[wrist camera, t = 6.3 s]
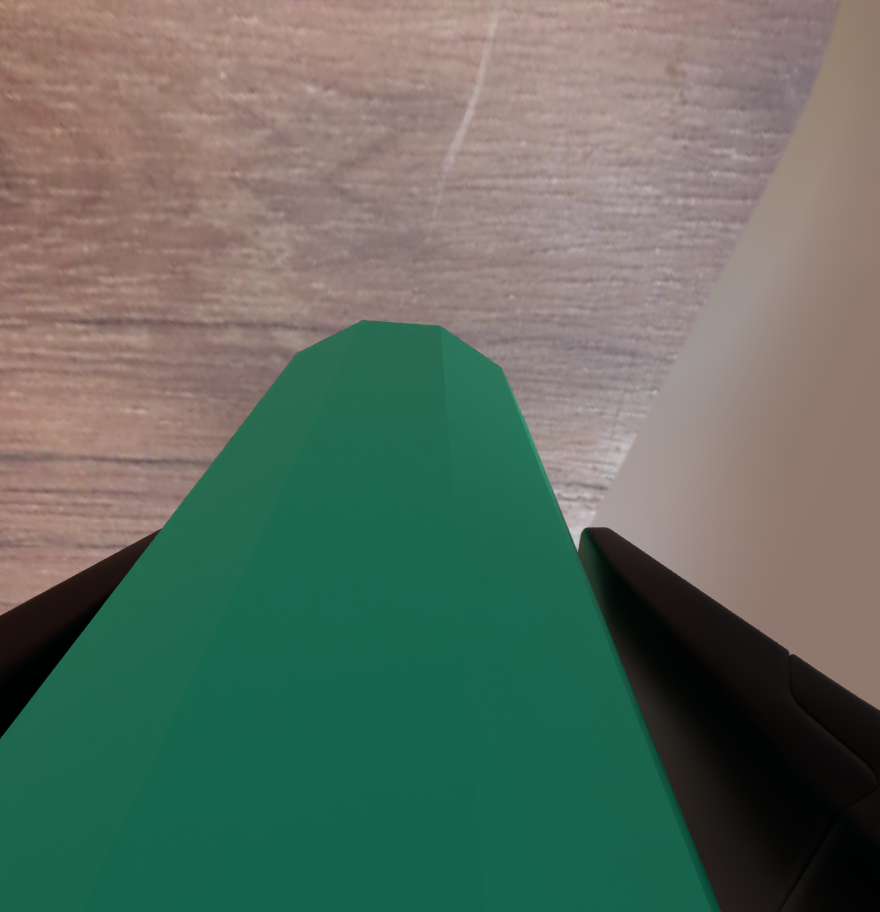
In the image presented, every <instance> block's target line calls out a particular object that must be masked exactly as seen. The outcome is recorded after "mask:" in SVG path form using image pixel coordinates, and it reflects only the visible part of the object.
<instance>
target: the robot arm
mask: <svg viewBox="0 0 880 912" xmlns="http://www.w3.org/2000/svg"><path fill="white" fill-rule="evenodd" d="M160 531H161V529H160V530H158V531H156V532H154V533H152V534H150V535H149V536H147V537H145V538H143V539H141V540H139V541H137V542H136V543H134V544H132V545H130V546H128V547H126V548H124V549H123V550H121V551H119V552H117V553H115V554H113V555H112V556H110V557H108V558H106V559H104V560H102V561H100V562H99V563H97V564H95V565H93V566H91V567H89V568H87V569H86V570H84V571H82V572H80V573H78V574H76V575H75V576H73V577H71V578H69V579H67V580H65V581H63V582H62V583H60V584H58V585H56V586H54V587H52V588H50V589H49V590H47V591H45V592H43V593H41V594H39V595H38V596H36V597H34V598H32V599H30V600H28V601H26V602H25V603H23V604H21V605H19V606H17V607H15V608H13V609H12V610H10V611H8V612H6V613H4V614H2V615H1V616H0V739H1V737H2V736H3V735H4V734H5V732H6V731H7V730H8V728H9V727H10V726H11V724H12V723H13V722H14V721H15V719H16V718H17V717H18V715H19V714H20V713H21V711H22V710H23V709H24V708H25V706H26V705H27V704H28V702H29V701H30V700H31V698H32V697H33V696H34V695H35V693H36V692H37V691H38V689H39V688H40V687H41V685H42V684H43V683H44V681H45V680H46V679H47V678H48V676H49V675H50V674H51V672H52V671H53V670H54V668H55V667H56V666H57V665H58V663H59V662H60V661H61V659H62V658H63V657H64V655H65V654H66V653H67V652H68V650H69V649H70V648H71V646H72V645H73V644H74V642H75V641H76V640H77V639H78V637H79V636H80V635H81V633H82V632H83V631H84V629H85V628H86V627H87V626H88V624H89V623H90V622H91V620H92V619H93V618H94V616H95V615H96V614H97V613H98V611H99V610H100V609H101V607H102V606H103V605H104V603H105V602H106V601H107V600H108V598H109V597H110V596H111V594H112V593H113V592H114V590H115V589H116V588H117V587H118V585H119V584H120V583H121V581H122V580H123V579H124V577H125V576H126V575H127V574H128V572H129V571H130V570H131V568H132V567H133V566H134V564H135V563H136V562H137V560H138V559H139V558H140V557H141V555H142V554H143V553H144V551H145V550H146V549H147V547H148V546H149V545H150V544H151V542H152V541H153V540H154V538H155V537H156V536H157V534H158V533H159V532H160ZM578 554H579V557H580V559H581V562H582V564H583V567H584V569H585V572H586V574H587V577H588V579H589V582H590V584H591V587H592V589H593V592H594V594H595V597H596V599H597V602H598V604H599V607H600V609H601V612H602V614H603V617H604V619H605V622H606V624H607V627H608V629H609V632H610V634H611V637H612V639H613V642H614V644H615V647H616V649H617V652H618V654H619V657H620V659H621V662H622V664H623V667H624V669H625V672H626V674H627V677H628V679H629V682H630V684H631V687H632V689H633V692H634V694H635V697H636V699H637V702H638V704H639V707H640V709H641V712H642V714H643V717H644V719H645V722H646V724H647V727H648V729H649V732H650V734H651V737H652V739H653V742H654V744H655V747H656V749H657V752H658V754H659V757H660V759H661V762H662V764H663V767H664V769H665V772H666V774H667V777H668V779H669V782H670V784H671V787H672V789H673V792H674V794H675V797H676V799H677V802H678V804H679V807H680V809H681V812H682V814H683V817H684V819H685V822H686V824H687V827H688V829H689V832H690V834H691V837H692V839H693V842H694V844H695V847H696V849H697V852H698V854H699V857H700V859H701V862H702V864H703V867H704V869H705V872H706V874H707V877H708V879H709V882H710V884H711V887H712V889H713V892H714V894H715V897H716V899H717V902H718V904H719V907H720V909H721V912H880V710H878V709H877V708H875V707H873V706H872V705H870V704H869V703H867V702H865V701H864V700H862V699H860V698H859V697H857V696H856V695H854V694H853V693H851V692H850V691H848V690H847V689H845V688H844V687H842V686H841V685H839V684H838V683H836V682H835V681H833V680H832V679H830V678H828V677H827V676H825V675H824V674H822V673H821V672H819V671H818V670H817V669H815V668H814V667H812V666H811V665H809V664H808V663H806V662H805V661H803V660H802V659H800V658H799V657H797V656H796V655H794V654H792V655H790V656H789V651H788V650H787V649H785V648H784V647H782V646H781V645H780V644H778V643H777V642H775V641H774V640H772V639H771V638H769V637H768V636H766V635H765V634H764V633H762V632H760V631H759V630H758V629H756V628H755V627H753V626H751V625H750V624H749V623H747V622H746V621H744V620H743V619H742V618H740V617H739V616H737V615H736V614H734V613H732V612H731V611H729V610H728V609H727V608H725V607H724V606H722V605H721V604H720V603H718V602H717V601H715V600H714V599H712V598H711V597H709V596H708V595H706V594H705V593H703V592H702V591H700V590H699V589H698V588H696V587H695V586H693V585H692V584H690V583H689V582H687V581H686V580H684V579H683V578H681V577H680V576H678V575H677V574H676V573H674V572H672V571H671V570H670V569H668V568H667V567H665V566H664V565H662V564H661V563H659V562H658V561H656V560H655V559H654V558H652V557H651V556H649V555H648V554H646V553H645V552H643V551H642V550H640V549H639V548H637V547H636V546H634V545H633V544H631V543H630V542H629V541H627V540H626V539H624V538H623V537H621V536H620V535H618V534H617V533H615V532H614V531H612V530H611V529H609V528H605V527H596V528H594V527H590V528H585V529H584V530H583V531H582V533H581V537H580V543H579V549H578Z"/></svg>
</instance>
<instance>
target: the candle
mask: <svg viewBox="0 0 880 912" xmlns="http://www.w3.org/2000/svg"><path fill="white" fill-rule="evenodd" d="M0 912H721V909H720V907H719V904H718V902H717V899H716V897H715V894H714V892H713V889H712V887H711V884H710V882H709V879H708V877H707V874H706V872H705V869H704V867H703V864H702V862H701V859H700V857H699V854H698V852H697V849H696V847H695V844H694V842H693V839H692V837H691V834H690V832H689V829H688V827H687V824H686V822H685V819H684V817H683V814H682V812H681V809H680V807H679V804H678V802H677V799H676V797H675V794H674V792H673V789H672V787H671V784H670V782H669V779H668V777H667V774H666V772H665V769H664V767H663V764H662V762H661V759H660V757H659V754H658V752H657V749H656V747H655V744H654V742H653V739H652V737H651V734H650V732H649V729H648V727H647V724H646V722H645V719H644V717H643V714H642V712H641V709H640V707H639V704H638V702H637V699H636V697H635V694H634V692H633V689H632V687H631V684H630V682H629V679H628V677H627V674H626V672H625V669H624V667H623V664H622V662H621V659H620V657H619V654H618V652H617V649H616V647H615V644H614V642H613V639H612V637H611V634H610V632H609V629H608V627H607V624H606V622H605V619H604V617H603V614H602V612H601V609H600V607H599V604H598V602H597V599H596V597H595V594H594V592H593V589H592V587H591V584H590V582H589V579H588V577H587V574H586V572H585V569H584V567H583V564H582V562H581V559H580V557H579V554H578V552H577V549H576V547H575V544H574V542H573V539H572V537H571V534H570V532H569V529H568V527H567V524H566V522H565V519H564V517H563V514H562V512H561V509H560V507H559V504H558V502H557V499H556V497H555V494H554V492H553V489H552V487H551V484H550V482H549V479H548V477H547V474H546V472H545V469H544V467H543V464H542V462H541V459H540V457H539V454H538V452H537V449H536V447H535V444H534V442H533V439H532V437H531V434H530V432H529V429H528V427H527V425H526V422H525V420H524V418H523V416H522V413H521V411H520V409H519V406H518V404H517V402H516V400H515V397H514V395H513V393H512V391H511V388H510V386H509V384H508V382H507V379H506V377H505V375H504V372H503V370H502V368H501V367H500V366H498V365H497V364H495V363H494V362H492V361H491V360H490V359H488V358H487V357H485V356H484V355H482V354H481V353H479V352H478V351H476V350H475V349H473V348H472V347H470V346H469V345H468V344H466V343H465V342H463V341H462V340H460V339H459V338H457V337H456V336H454V335H453V334H451V333H450V332H448V331H447V330H446V329H444V328H443V327H441V326H435V325H421V324H408V323H394V322H381V321H367V320H362V321H360V322H358V323H356V324H354V325H352V326H350V327H348V328H346V329H344V330H342V331H340V332H338V333H336V334H334V335H332V336H330V337H328V338H326V339H324V340H322V341H320V342H318V343H316V344H314V345H312V346H310V347H308V348H306V349H304V350H302V351H300V352H298V353H297V354H296V355H295V356H294V358H293V359H292V360H291V361H290V363H289V364H288V365H287V367H286V368H285V369H284V371H283V372H282V373H281V374H280V376H279V377H278V378H277V380H276V381H275V382H274V384H273V385H272V386H271V387H270V389H269V390H268V391H267V393H266V394H265V395H264V397H263V398H262V399H261V400H260V402H259V403H258V404H257V406H256V407H255V408H254V410H253V411H252V412H251V413H250V415H249V416H248V417H247V419H246V420H245V421H244V423H243V424H242V425H241V426H240V428H239V429H238V430H237V432H236V433H235V434H234V436H233V437H232V438H231V439H230V441H229V442H228V443H227V445H226V446H225V447H224V449H223V450H222V451H221V452H220V454H219V455H218V456H217V458H216V459H215V460H214V462H213V463H212V464H211V466H210V467H209V468H208V469H207V471H206V472H205V473H204V475H203V476H202V477H201V479H200V480H199V481H198V482H197V484H196V485H195V486H194V488H193V489H192V490H191V492H190V493H189V494H188V495H187V497H186V498H185V499H184V501H183V502H182V503H181V505H180V506H179V507H178V508H177V510H176V511H175V512H174V514H173V515H172V516H171V518H170V519H169V520H168V521H167V523H166V524H165V525H164V527H163V528H162V529H161V531H160V532H159V533H158V534H157V536H156V537H155V538H154V540H153V541H152V542H151V544H150V545H149V546H148V547H147V549H146V550H145V551H144V553H143V554H142V555H141V557H140V558H139V559H138V560H137V562H136V563H135V564H134V566H133V567H132V568H131V570H130V571H129V572H128V574H127V575H126V576H125V577H124V579H123V580H122V581H121V583H120V584H119V585H118V587H117V588H116V589H115V590H114V592H113V593H112V594H111V596H110V597H109V598H108V600H107V601H106V602H105V603H104V605H103V606H102V607H101V609H100V610H99V611H98V613H97V614H96V615H95V616H94V618H93V619H92V620H91V622H90V623H89V624H88V626H87V627H86V628H85V629H84V631H83V632H82V633H81V635H80V636H79V637H78V639H77V640H76V641H75V642H74V644H73V645H72V646H71V648H70V649H69V650H68V652H67V653H66V654H65V655H64V657H63V658H62V659H61V661H60V662H59V663H58V665H57V666H56V667H55V668H54V670H53V671H52V672H51V674H50V675H49V676H48V678H47V679H46V680H45V681H44V683H43V684H42V685H41V687H40V688H39V689H38V691H37V692H36V693H35V695H34V696H33V697H32V698H31V700H30V701H29V702H28V704H27V705H26V706H25V708H24V709H23V710H22V711H21V713H20V714H19V715H18V717H17V718H16V719H15V721H14V722H13V723H12V724H11V726H10V727H9V728H8V730H7V731H6V732H5V734H4V735H3V736H2V737H1V739H0Z"/></svg>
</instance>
